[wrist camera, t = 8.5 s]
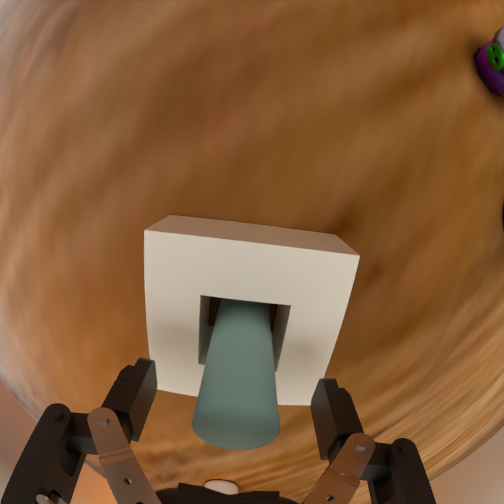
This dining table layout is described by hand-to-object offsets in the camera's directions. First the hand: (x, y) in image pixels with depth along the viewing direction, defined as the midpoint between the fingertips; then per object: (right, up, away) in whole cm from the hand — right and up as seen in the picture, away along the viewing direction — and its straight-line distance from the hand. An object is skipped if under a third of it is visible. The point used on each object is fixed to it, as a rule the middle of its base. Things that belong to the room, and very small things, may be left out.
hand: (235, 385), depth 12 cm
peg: (0, +3, +9) cm, 9 cm away
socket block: (0, +3, +9) cm, 9 cm away
